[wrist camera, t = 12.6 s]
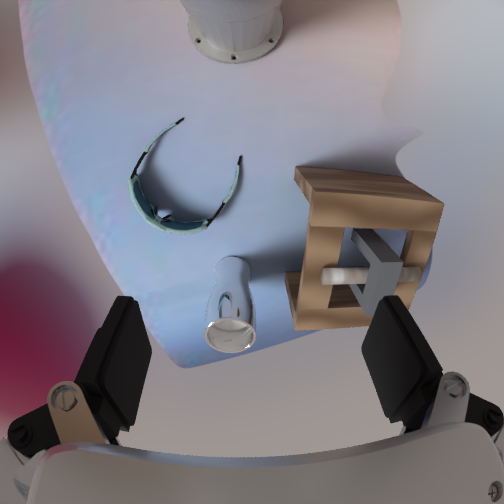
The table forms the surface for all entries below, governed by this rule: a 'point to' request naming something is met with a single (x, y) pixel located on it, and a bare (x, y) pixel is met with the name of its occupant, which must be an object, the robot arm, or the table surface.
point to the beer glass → (231, 308)
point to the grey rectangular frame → (375, 270)
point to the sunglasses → (150, 212)
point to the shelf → (331, 234)
